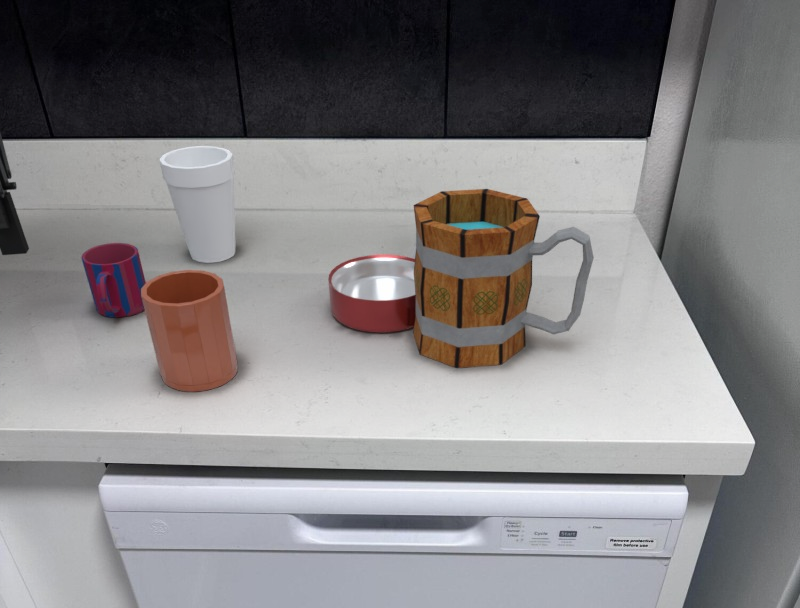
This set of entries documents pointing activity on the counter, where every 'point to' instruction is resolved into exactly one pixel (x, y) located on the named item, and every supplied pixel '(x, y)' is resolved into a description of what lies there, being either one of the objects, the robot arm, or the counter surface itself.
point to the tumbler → (190, 329)
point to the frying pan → (374, 293)
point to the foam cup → (203, 199)
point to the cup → (115, 279)
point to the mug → (481, 276)
